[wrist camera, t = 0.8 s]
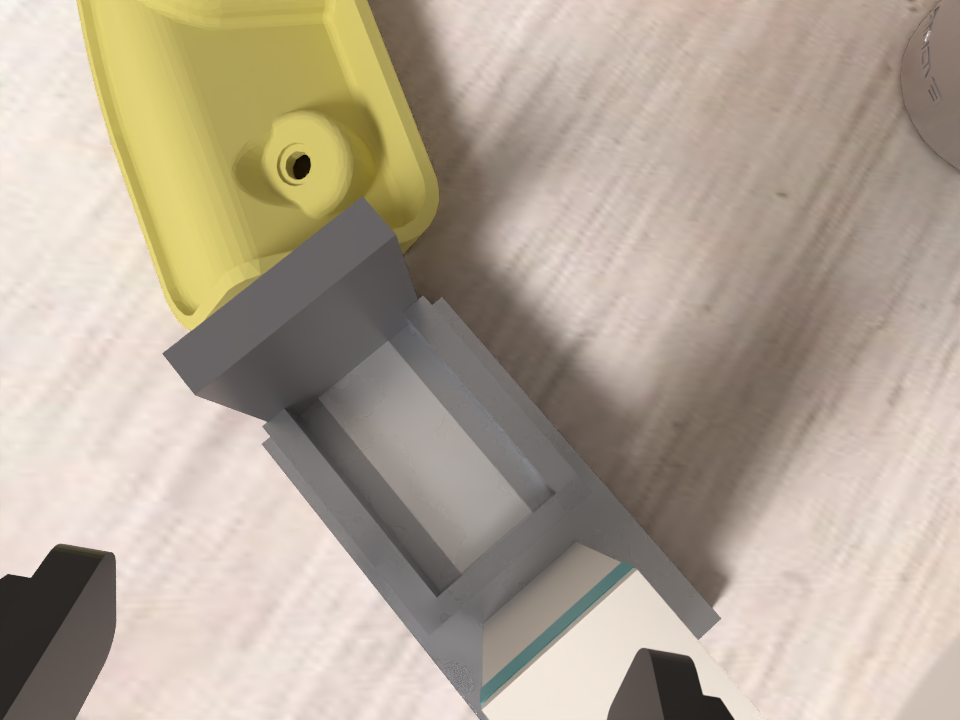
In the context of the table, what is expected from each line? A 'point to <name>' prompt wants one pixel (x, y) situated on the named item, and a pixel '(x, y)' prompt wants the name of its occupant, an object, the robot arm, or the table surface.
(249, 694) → the table surface
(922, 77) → the robot arm
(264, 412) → the end stop
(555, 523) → the rail plate
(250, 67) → the plastic component
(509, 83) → the table surface
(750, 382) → the table surface
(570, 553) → the block
